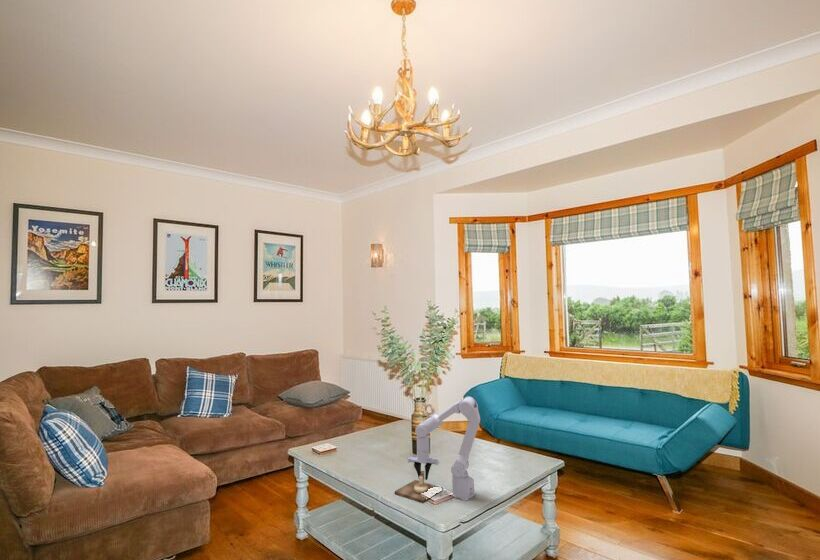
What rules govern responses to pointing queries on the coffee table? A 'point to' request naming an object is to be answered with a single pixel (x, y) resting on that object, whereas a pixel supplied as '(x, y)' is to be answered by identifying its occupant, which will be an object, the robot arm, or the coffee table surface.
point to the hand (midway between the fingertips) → (423, 478)
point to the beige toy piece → (421, 485)
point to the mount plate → (412, 491)
